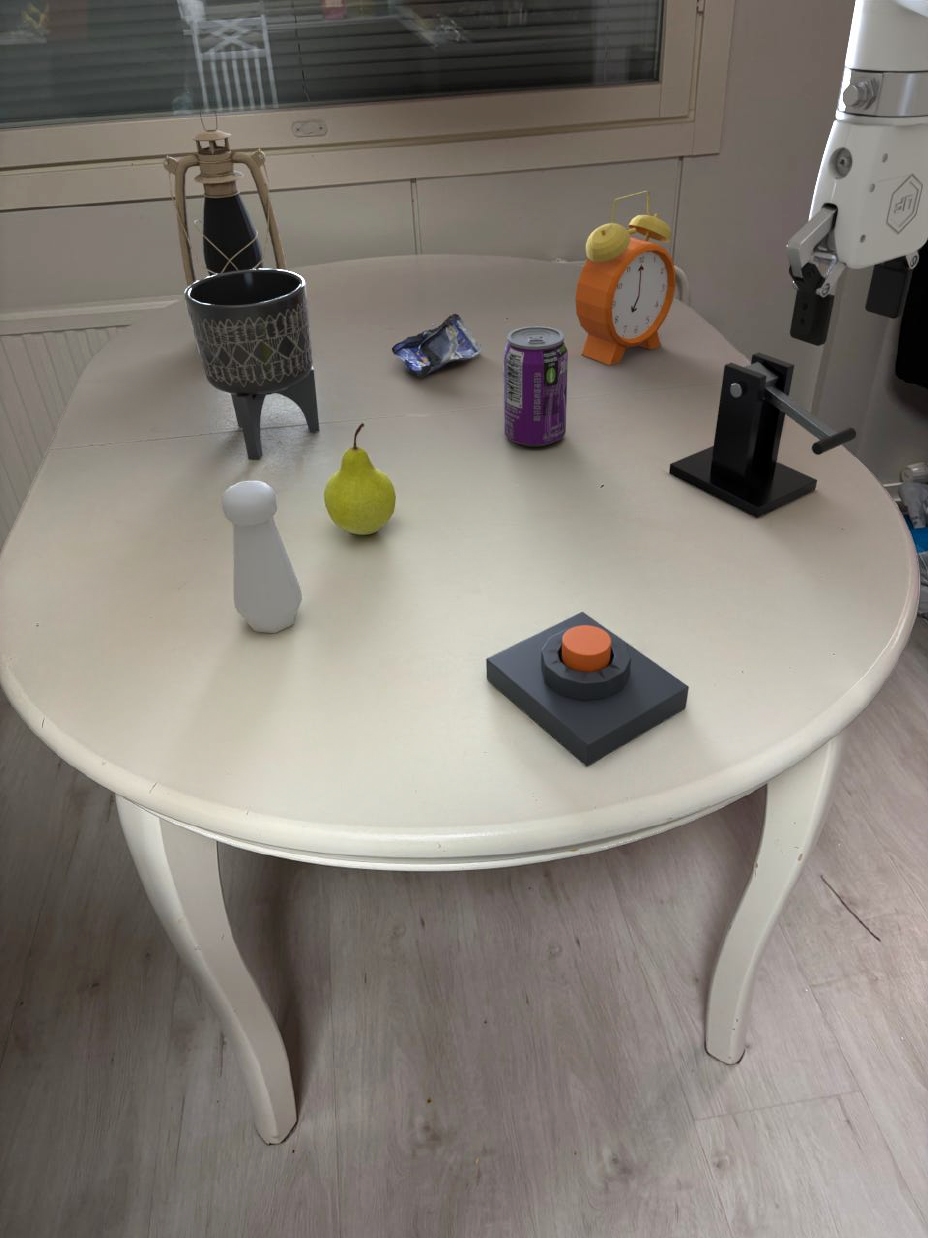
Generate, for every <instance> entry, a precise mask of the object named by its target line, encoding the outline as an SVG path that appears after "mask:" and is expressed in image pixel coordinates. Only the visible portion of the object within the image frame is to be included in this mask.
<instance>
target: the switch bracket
mask: <svg viewBox="0 0 928 1238" xmlns="http://www.w3.org/2000/svg"><path fill="white" fill-rule="evenodd" d="M757 362H759V363H760V364H762V365H763V366H764V367H766V368H767V369H768V370H770V371H771V372H772V373H774V374H775V375H776V376H778V380H777V382H776V384H775V387H776V388H778V389H779V390H780V391H782V392H783V393H784V394H786V395H787V396H788V397H789V396H790V392H791V386H792V381H793V375H794V369H795V364H793V363H790V362H787V361H784V360H781V359H779V358H776V357H773V356H770V355H768V354H766V353H762V352H756V353H753V354H752V355H751V360H750V365H751V364H754V363H757ZM745 367H746V366H742V365H739V364H737V363H734V362H729V363H725V364H724V367H723V373H722V379H721V380H722V381H721V387H720V394H719V395H720V396H719V403H718V411H717V417H716V426H715V432H714V440H713V445H712V446H709V447H706V448H704V449H702V450H700V451H697V452H694V453H693V454H690V455H688V456H685V457H683V458H681V459H677V460H675V461H673V462H671V463H669V469H668V474H669V475H670V476H673V477H675V478H677V479H679V480H681V481H683V482H685V483H687V484H689V485H690V486H693V487H694V488H697V489H698V490H701V491H702V492H705V493H706V494H708V495H709V496H712V497H714V498H716V499H718V500H720V501H722V502H724V503H725V504H727V505H730V506H732V507H734V508H735V509H738V510H740V511H741V512H743V513H746V514H748V515H749V516H751V517H753V518H755V519H759V518H760V517H762V516H765V515H767V514H769V513H771V512H773V511H775V510H777V509H779V508H781V507H783V506H785V505H787V504H789V503H791V502H793V501H795V500H798V499H800V498H801V497H804V496H806V495H808V494H810V493H812V492H814V491H816V490H817V489H816V488H817V484H818V479H816V478H814V477H811V476H810V475H807V474H805V473H803V472H800V471H798V470H796V469H794V468H792V467H790V466H787V465H785V464H783V463H781V462H779V461H778V457H779V452H780V451H779V450H780V446H781V441H782V436H783V435H782V434H783V429H784V424H785V420H786V414H785V413H783V412H782V411H781V410H779V409H778V408H777V407H775V406H774V405H773V404H772V403H770V402H769V401H768V400H766V399H764V400H763V395H764V389H765V383H766V377H767V376H766V375H763V374H760V373H758V372H755V371H753V370H750V369H747V368H745Z"/></svg>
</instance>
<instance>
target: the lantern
mask: <svg viewBox="0 0 928 1238" xmlns="http://www.w3.org/2000/svg"><path fill="white" fill-rule="evenodd" d="M207 108H208V109H211V110H213V112H214V115H215V124H216V126H215V127H216V128H213V129H206V128H205V126H204V122H203V119H202V111H203V110H205V109H207ZM199 116H200V117H199V118H200V121H201V124H202V127H203V130H204V131H200V132H199V133H197V134H196V135H193V136H191V138H190V139H191V140H192V141H195V145H196V149H197V150H196V151H197V153H196V154H189V155H185V156H183V157H182V158H180V159H179V160H178V159H176V158H174V157H172V156H169V155H167V154H166V157H165V159H164V160H163V162H162V164H163V165H162V166H163V168H164V169H165V170H166V171H167V172H168V178H169V187H170V188H169V189H170V197H171V200H172V203H173V206H174V209H175V211H176V212H175V213H176V223H177V231H178V239H179V246H180V254H181V260H182V261H181V262H182V267H183V272H184V277H185V278H184V279H185V282H186V286H187V288H188V287H189V286H190V285H192V284H193V283H195V282H197V278H196V272H195V266H194V260H193V255H194V258H195V259H196V261H197V263H198V265H199V266H201V267H202V268H203V269H204V270H206V271H207V273H208V275H209V277H210V276H213V275H216V274H221V273H225V272H231V271H237V270H247V269H264V259H265V256H266V251H267V245H268V237H269V238H270V243H271V246H272V247H271V248H272V251H273V256H274V260H275V266H276V267H275V268H276V270H284V271H288V267H287V262H286V256H285V251H284V247H283V242H282V238H281V233H280V229H279V226H278V220H277V218H276V213H275V210H274V206H273V202H272V199H271V196H270V195H271V194H270V189H269V188H270V187H269V185H270V180H269V176H268V173H267V168H266V165H265V163H266V154H265V152H263V151H262V150H261V148H258V150H255V151H254V152H252V154H250V153H247V152H244V151H232V150H231V149H230V143H229V138H230V137H232V134H231V133H230V132H226V131H225V132H224V131H222V130H219V129H218V115H217V112H216V110H215V109H214V108H213V107H211V106H203V107H202V108H201V109H200V111H199ZM221 140H224V146H223V145H217V141H221ZM201 142H208V144H209V146H206V147H203V146H202V145H201ZM234 164H242V165H245V166H246V167H247V169H249V171H250V175H251V177H252V179H253V182H254V184H255V188H256V191H257V194H258V197H259V201H260V203H261V207H262V211H263V215H264V218H265V222H266V235H265V236H266V237H265V245H264V249H263V251H262V247H261V244H260V240H259V237H258V235H259V233H258V230H257V228H256V227H255V226H254V224H253V221H252V219H251V217H250V214H249V210H248V209H247V207H246V205H245V202H244V200H243V198H242V195H241V194H240V193H241V190H240V189H238V183H237V182H238V180H240V179H242V178H244V173H243V172H241V171H237V170H236V169H235V165H234ZM262 166H263V169H264V173H265V177H266V179H265V177H264V174H263V172H262V170H261V167H262ZM194 167H199V171H200V173H199V174H197V175H196V176H194V177H193V181H194V182H195V183H199V184H202V186H203V191H204V192H203V194H202V195H203V196H204V198H203V211H202V220H198V219H196V220H195V219H194V222H193V224H194V227H195V228H196V230H197V231H198V232H199V233H200V234H201V236H202V252H203V260H204V263H205V266H204V265H203V264H202V263H201V262H200V261H199V259H198V257H197V255H196V253H195V250H194V248H193V246H192V244H191V240H190V239H191V238H190V230H189V219H188V209H187V208H188V207H187V194H186V193H187V192H186V185H187V183H186V182H187V181H186V180H187V178H186V177H187V172H188V171H189V169H190V168H194ZM171 174H172V175H173V176H174V196H173V185H172V176H171ZM266 181H267V182H266ZM196 222H199V223H201V224H202V232H201V230H200V229H199V228H198V227H197V223H196ZM192 253H193V254H192Z"/></svg>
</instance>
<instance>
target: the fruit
mask: <svg viewBox="0 0 928 1238" xmlns="http://www.w3.org/2000/svg"><path fill="white" fill-rule="evenodd" d="M363 427H365V424H364V423H363V422H362V423H361V424H359V425H358V427H357V429H356V430H355V433H354V437H353V446H351V447H349V448H348V449H346V450H345V451H344V453H343V455H342V458H341V464H340V468H339V469H338V470H337V471H336V472H335V473H333V474H332V475H331V476H330V477H329V479H328V480H327V482H326V484H325V488H324V492H323V496H324V497H323V500H324V506H325V509H326V511H327V514H328V516H329V518H330V519H331V520H332V522H333V523H334V524H335V526H337V527H338V528H340V529H342V530H343V531H346V532H348V533H349V534H350V533H351V534H354V535H360V536H362V535H363V536H365V535H371V534H374V533H377V532H378V531H379V530H380V529H381V528H383V527H384V526H385V525H386V524H387V523H388V522H389V521H390V519H392V516H393V515H394V514H395V513H394V512H395V508H396V501H397V500H396V499H397V496H396V490H395V486H394V484H393V482H392V480H391V479H390V478H389V476H388V475H387V474H386V473H385V472H384V471H383V470H380V469H378V468H376V467H374V465H373V463H372V461H371V459H370V456H369V454H368V452H367V451H366V449H364V448H362V447H360V446H357V437H358V435H359V433H360V432H361V430H362V429H363Z"/></svg>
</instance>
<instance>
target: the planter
mask: <svg viewBox="0 0 928 1238" xmlns="http://www.w3.org/2000/svg"><path fill="white" fill-rule="evenodd" d="M307 294H308V293H307V284H306V281H305V279H304V278H303V277H302V276H301V275H299V274H297V273H295V272H293V271H288V270H287V271H284V270H277V268H276V269H274V268H263V269H247V270H237V271H231V272H225V273H221V274H216V275H213V276H210V275H209V276H207V277H204V278H201V279H199V280H196V282H195V283H193V284H192V285H190V286H189V287H188V286H187V288H186V289H185V291H184V293H183V298H184V301H185V306H186V310H187V313H188V317H189V321H190V325H191V328H192V332H193V335H194V339H195V343H196V347H197V351H198V354H199V358H200V361H201V366H202V369H203V373H204V375H205V378H206V380H207V382H208V383H209V384H210V386H212V387H213V388H215V389H217V390H219V391H221V392H224V393H228V394H230V396H231V401H232V406H233V410H234V415H235V419H236V423H237V427H238V428H240V429H241V431H242V437H243V440H244V444H245V449H246V453H247V459H248V460H257V461H258V460H260V459H261V458H262V457H263V447H262V436H261V421H262V420H261V419H262V412H263V411H262V410H263V406H264V403H265V400H266V397H267V396H270V395H274V394H278V395H281V396H283V397H285V398H287V399H289V400H291V401H292V402H293V403H294V404H295V405H296V406H297V407H298V408H299V409H300V410H301V412H302V414H303V416H304V419H305V422H306V426H307V428H308V432H309V433H310V434H313V433H318V432H320V422H319V421H320V419H319V411H318V410H319V409H318V400H317V390H316V380H315V379H316V378H315V370H314V367H313V365H314V358H313V349H312V348H313V347H312V337H311V327H310V316H309V306H308V305H309V304H308V295H307Z"/></svg>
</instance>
